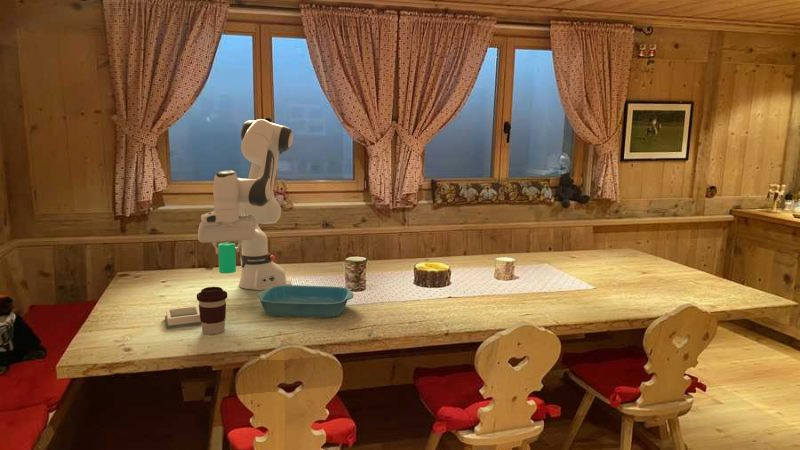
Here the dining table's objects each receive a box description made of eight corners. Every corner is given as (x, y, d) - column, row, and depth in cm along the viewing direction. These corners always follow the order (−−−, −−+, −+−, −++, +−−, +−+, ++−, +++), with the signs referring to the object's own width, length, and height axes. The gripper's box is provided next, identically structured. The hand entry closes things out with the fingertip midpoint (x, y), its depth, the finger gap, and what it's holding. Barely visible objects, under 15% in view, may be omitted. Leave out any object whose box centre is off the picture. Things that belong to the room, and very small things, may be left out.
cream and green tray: (208, 313, 212) (207, 304, 212) (212, 322, 202) (211, 313, 202) (165, 318, 206) (164, 309, 205) (167, 328, 196) (166, 318, 195)
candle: (230, 274, 206) (230, 241, 204) (215, 272, 207) (214, 240, 205) (238, 270, 212) (238, 238, 210) (224, 269, 213) (223, 237, 211)
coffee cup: (202, 326, 199) (200, 285, 196) (231, 326, 200) (229, 285, 197) (194, 336, 189) (192, 293, 187) (225, 336, 190) (223, 293, 188)
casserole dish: (250, 318, 209) (249, 299, 207) (267, 300, 231) (267, 283, 229) (349, 322, 207) (349, 303, 206) (357, 303, 229) (357, 286, 227)
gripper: (253, 213, 213) (254, 249, 216) (196, 215, 204) (197, 253, 207) (257, 215, 208) (257, 252, 210) (198, 218, 199) (200, 256, 201)
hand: (227, 252), depth 208 cm, fingers closed on candle, 5 cm apart
